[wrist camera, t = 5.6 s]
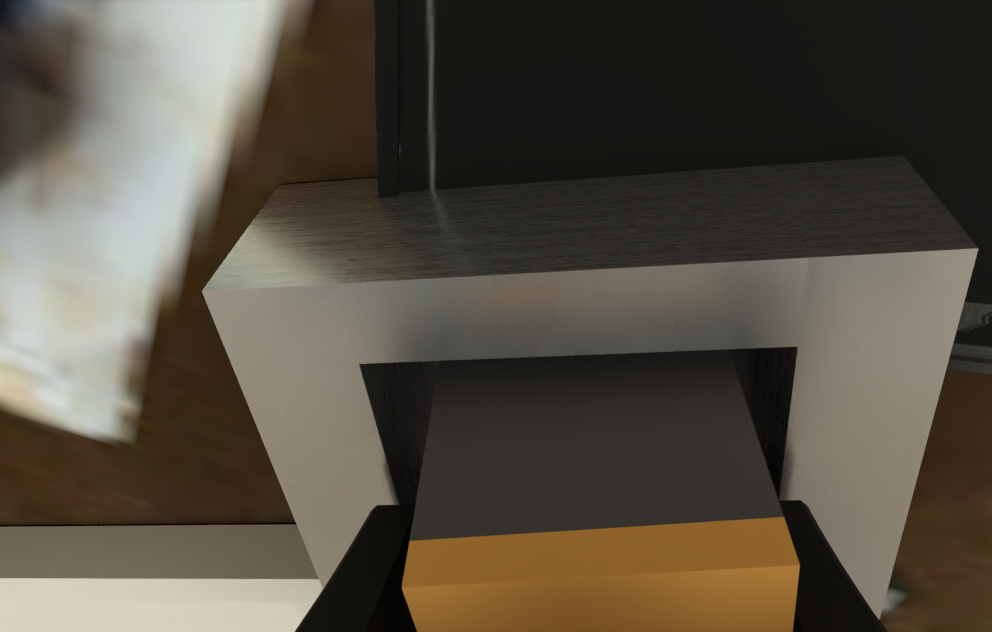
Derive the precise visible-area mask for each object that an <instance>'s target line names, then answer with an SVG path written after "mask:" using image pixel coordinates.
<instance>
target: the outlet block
mask: <svg viewBox="0 0 992 632" xmlns="http://www.w3.org/2000/svg"><path fill="white" fill-rule="evenodd" d="M978 249H979V248H978V247H977V246H976V245H975V243H974V242H973V241H972V240H971V238H970V237H969V236H968V235H967V233H966V232H965V231H964V230H963V228H962V227H961V226H960V225H959V224H958V222H957V221H956V220H955V219H954V217H953V216H952V215H951V214H950V212H949V211H948V210H947V209H946V207H945V206H944V205H943V204H942V203H941V201H940V200H939V199H938V198H937V196H936V195H935V194H934V193H933V191H932V190H931V189H930V188H929V187H928V185H927V184H926V183H925V182H924V180H923V179H922V178H921V177H920V175H919V174H918V173H917V172H916V170H915V169H914V168H913V167H912V166H911V164H910V163H909V162H908V161H907V159H906V158H905V157H904V156H891V157H877V158H863V159H850V160H836V161H822V162H809V163H795V164H781V165H767V166H754V167H740V168H726V169H713V170H699V171H685V172H671V173H658V174H644V175H630V176H616V177H603V178H589V179H575V180H562V181H548V182H534V183H520V184H507V185H493V186H479V187H466V188H452V189H438V190H424V191H411V192H399V194H398V196H397V197H385V198H377V178H367V179H354V180H341V181H327V182H314V183H301V184H288V185H278V187H277V188H276V189H275V191H274V192H273V194H272V195H271V196H270V198H269V199H268V200H267V202H266V203H265V205H264V206H263V207H262V209H261V210H260V212H259V213H258V214H257V216H256V217H255V218H254V220H253V221H252V223H251V224H250V225H249V227H248V228H247V230H246V231H245V232H244V234H243V235H242V236H241V238H240V239H239V241H238V242H237V243H236V245H235V246H234V247H233V249H232V250H231V252H230V253H229V254H228V256H227V257H226V259H225V260H224V261H223V263H222V264H221V265H220V267H219V268H218V270H217V271H216V272H215V274H214V275H213V277H212V278H211V279H210V281H209V282H208V283H207V285H206V286H205V288H204V289H203V290H202V293H203V295H204V298H205V300H206V303H207V305H208V308H209V310H210V313H211V315H212V318H213V320H214V322H215V325H216V327H217V330H218V332H219V335H220V337H221V340H222V342H223V345H224V347H225V350H226V352H227V354H228V357H229V359H230V362H231V364H232V367H233V369H234V372H235V374H236V377H237V379H238V382H239V384H240V386H241V389H242V391H243V394H244V396H245V399H246V401H247V404H248V406H249V409H250V411H251V413H252V416H253V418H254V421H255V423H256V426H257V428H258V431H259V433H260V436H261V438H262V441H263V443H264V445H265V448H266V450H267V453H268V455H269V458H270V460H271V463H272V465H273V468H274V470H275V473H276V475H277V477H278V480H279V482H280V485H281V487H282V490H283V492H284V495H285V497H286V500H287V502H288V504H289V507H290V509H291V512H292V514H293V517H294V519H295V522H296V524H297V527H298V529H299V532H300V534H301V536H302V539H303V541H304V544H305V546H306V549H307V551H308V554H309V556H310V559H311V561H312V564H313V566H314V568H315V571H316V573H317V576H318V578H319V581H320V583H321V586H322V588H323V589H324V587H325V586H326V584H327V582H328V581H329V579H330V578H331V576H332V574H333V573H334V571H335V570H336V568H337V567H338V565H339V563H340V562H341V560H342V559H343V557H344V555H345V554H346V552H347V550H348V549H349V547H350V545H351V544H352V542H353V540H354V539H355V537H356V535H357V534H358V532H359V530H360V529H361V527H362V525H363V524H364V522H365V520H366V518H367V517H368V515H369V513H370V512H371V510H372V509H373V508H374V507H375V506H376V505H416V499H417V493H418V487H419V481H420V475H421V469H422V463H423V457H424V451H425V445H426V439H427V433H428V427H429V421H430V416H431V410H432V404H433V398H434V392H435V386H436V380H437V374H438V368H439V362H440V361H444V360H469V359H495V358H520V357H546V356H571V355H596V354H622V353H647V352H673V351H698V350H723V349H729V352H730V355H731V358H732V361H733V364H734V367H735V370H736V373H737V376H738V379H739V382H740V385H741V388H742V391H743V394H744V397H745V400H746V403H747V406H748V409H749V412H750V415H751V418H752V422H753V425H754V428H755V431H756V434H757V437H758V440H759V443H760V446H761V449H762V452H763V455H764V458H765V461H766V464H767V467H768V470H769V473H770V476H771V479H772V482H773V485H774V488H775V491H776V494H777V497H778V500H801V501H802V502H803V503H805V504H806V505H807V506H808V507H809V509H810V511H811V513H812V515H813V517H814V518H815V520H816V522H817V524H818V525H819V527H820V529H821V531H822V532H823V534H824V536H825V537H826V539H827V541H828V542H829V544H830V546H831V547H832V549H833V551H834V552H835V554H836V556H837V557H838V559H839V560H840V562H841V564H842V565H843V567H844V568H845V570H846V571H847V573H848V575H849V576H850V578H851V579H852V581H853V582H854V584H855V585H856V587H857V588H858V590H859V591H860V593H861V594H862V596H863V597H864V599H865V600H866V602H867V603H868V605H869V606H870V608H871V609H872V611H873V612H874V614H875V615H876V616H877V618H878V619H880V616H881V612H882V608H883V604H884V601H885V597H886V593H887V589H888V586H889V582H890V578H891V574H892V571H893V567H894V563H895V559H896V556H897V552H898V548H899V544H900V541H901V537H902V533H903V529H904V526H905V522H906V518H907V514H908V511H909V507H910V503H911V499H912V496H913V492H914V488H915V484H916V481H917V477H918V473H919V470H920V466H921V462H922V458H923V455H924V451H925V447H926V443H927V440H928V436H929V432H930V428H931V425H932V421H933V417H934V413H935V410H936V406H937V402H938V398H939V395H940V391H941V387H942V383H943V380H944V376H945V372H946V368H947V365H948V361H949V357H950V353H951V350H952V346H953V342H954V338H955V335H956V331H957V327H958V323H959V320H960V316H961V312H962V309H963V305H964V301H965V297H966V294H967V290H968V286H969V282H970V279H971V275H972V271H973V267H974V264H975V260H976V256H977V252H978Z"/></svg>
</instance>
